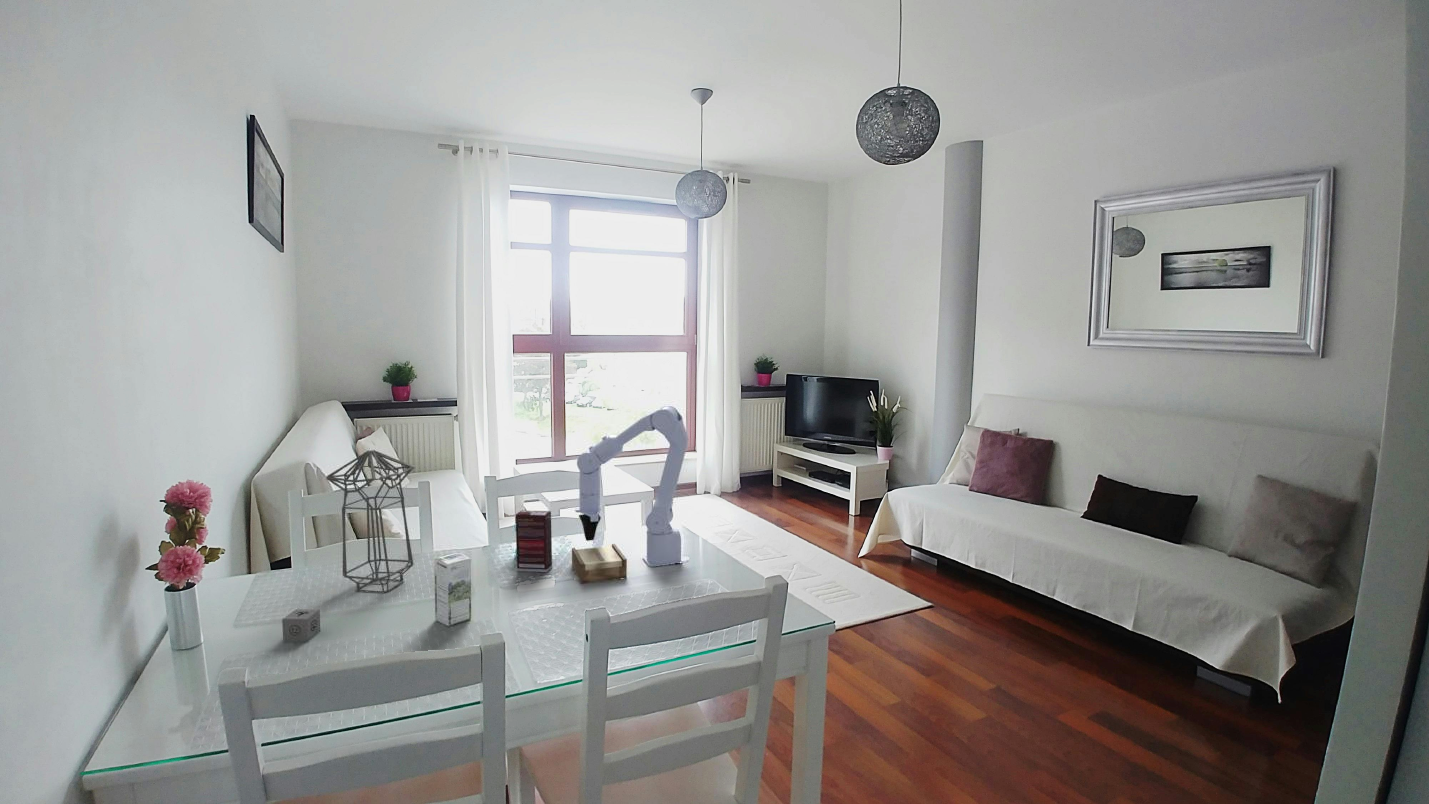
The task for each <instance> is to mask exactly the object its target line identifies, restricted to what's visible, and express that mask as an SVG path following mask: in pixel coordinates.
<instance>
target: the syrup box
mask: <svg viewBox="0 0 1429 804" xmlns="http://www.w3.org/2000/svg"><path fill="white" fill-rule="evenodd" d="M471 560H472V559H471V558H470V557H469V556H467V555H465V554H463V553H460V552H455V553H451V554H448V555H444V556H439V557H436V558H434V559H433V562H434V566H433V567H434V605H435V607H434V609H435V610H434V612H435V613H434V617H435V620H436V621H437V622H439V623H441V624H442V625H445V626H447V627H451V626H452V627H453V626H454V625H457V624H460V623H464V622H466V621H469V620H471V619H472V561H471Z"/></svg>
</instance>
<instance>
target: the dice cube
mask: <svg viewBox="0 0 1429 804" xmlns="http://www.w3.org/2000/svg"><path fill="white" fill-rule="evenodd" d="M281 622H282V625H281V626H282V640H283V643H309V642H310V641H311V640H313V638H315V637H316V636H317V635H318V634H319V633H321V630H322V629H321V611H320V609H314V608H313V609H295V610H293V611H292V612H290V613H289V614H287V615H285V616H284V617H283V618H281Z"/></svg>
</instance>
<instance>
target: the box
mask: <svg viewBox="0 0 1429 804" xmlns="http://www.w3.org/2000/svg"><path fill="white" fill-rule="evenodd" d="M611 547H612V548H613V549H614V550H615V552H616V553H617V554H618V556H619V557H620V558H621V560H622V567H613V568H604V569H595V570H586V571H585V570H584V563H583V561H582V559H581V558H580V556H579V554H578V552H577V551H576V550H577V549H576V547H571V567H572V569H573V571H574V573H575V575H576V576H577V578H578V580H579V582H580V584H581V585H583V584H590V582H591V583H598V582H597V581H600V582H606V581H605V580H608V581H615V580H614V579H617V580H622V579H621V578H625V579H627V578H628V577H627V576H628V575H627V574H628V572H627V571H628V564H627V563H628V559H627V557H625V555H624V554H623V553H622V552H621V550H620V549H619V548H618V546H617V545H616V544H615V543H612V544H611Z"/></svg>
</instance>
